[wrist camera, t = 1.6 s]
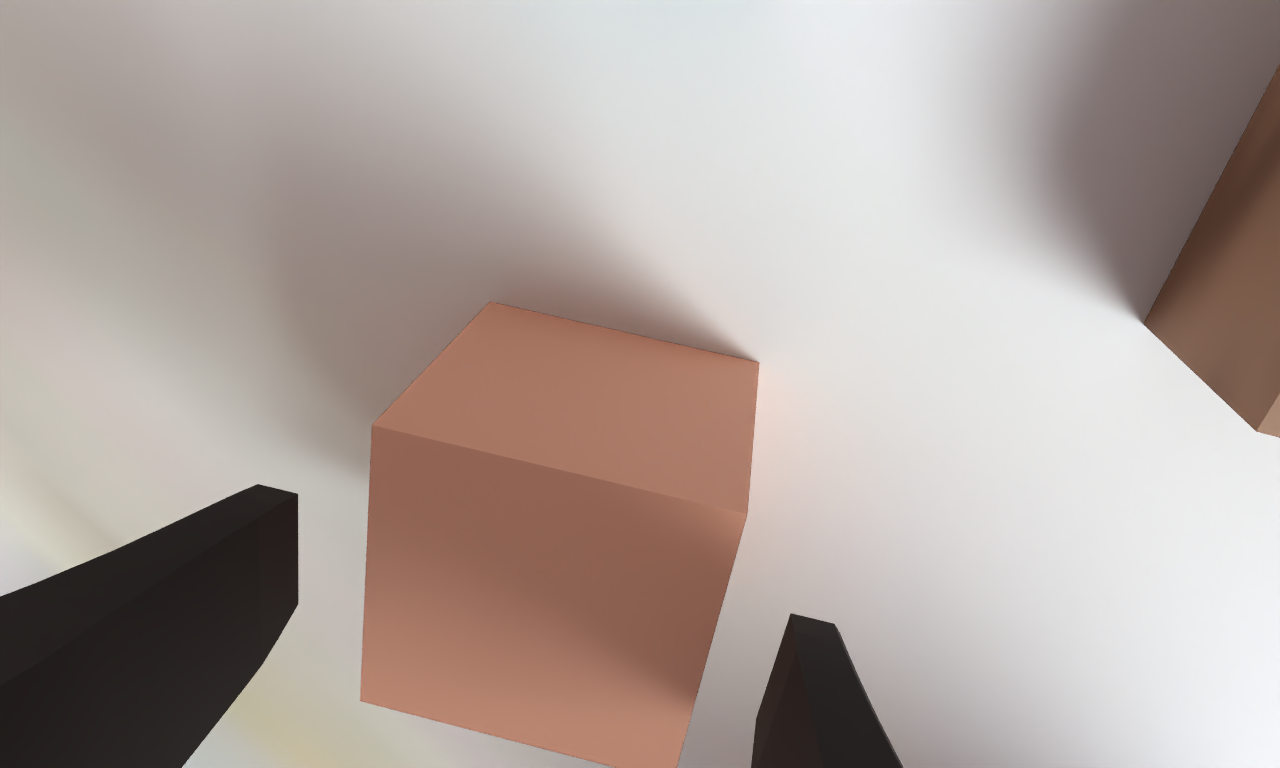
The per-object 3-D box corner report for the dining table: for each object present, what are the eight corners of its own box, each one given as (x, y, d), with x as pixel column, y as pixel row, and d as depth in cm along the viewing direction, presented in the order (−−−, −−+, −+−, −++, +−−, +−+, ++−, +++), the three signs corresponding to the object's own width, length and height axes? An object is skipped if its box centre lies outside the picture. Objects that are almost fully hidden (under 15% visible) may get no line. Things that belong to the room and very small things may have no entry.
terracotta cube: (702, 579, 18) (672, 782, 13) (467, 522, 18) (359, 701, 13) (759, 361, 15) (747, 514, 11) (491, 300, 16) (372, 424, 11)
